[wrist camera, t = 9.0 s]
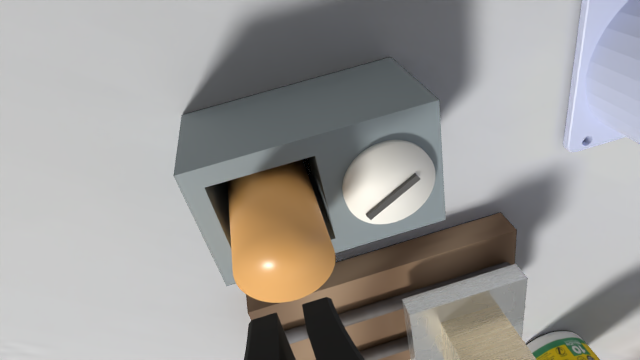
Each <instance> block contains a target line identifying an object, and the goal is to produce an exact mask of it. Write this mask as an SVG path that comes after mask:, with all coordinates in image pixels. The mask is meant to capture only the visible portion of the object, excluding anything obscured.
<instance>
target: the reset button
mask: <svg viewBox="0 0 640 360" xmlns="http://www.w3.org/2000/svg"><path fill="white" fill-rule="evenodd" d="M227 183H228V200H229V217H230V235H231V252H232V269H233V277H234V280H235V282H236V284H237V285H238V287H239V288H240V289H241V290H242V291H243V292H244V293H245V294H247V295H248V296H250V297H252V298H254V299H257V300H260V301H264V302H271V303H282V302H290V301H294V300H298V299H300V298H303V297H305V296H307V295H309V294H311V293H313V292H315V291H316V290H317V289H319V288H320V287H321V286H322V285H323V284H324V283H325V282H326V281H327V280H328V278H329V277H330V275H331V273H332V271H333V269H334V266H335V251H334V248H333V245H332V242H331V239H330V236H329V234H328V231H327V228H326V225H325V222H324V219H323V216H322V214H321V211H320V208H319V205H318V202H317V199H316V196H315V194H314V191H313V188H312V185H311V182H310V179H309V176H308V174H307V171H306V168H305V165H304V162H303V160H298V161H295V162H292V163H288V164H285V165H281V166H278V167H274V168H271V169H267V170H264V171H260V172H257V173H254V174H250V175H247V176H243V177H240V178H236V179H233V180H229V181H227Z"/></svg>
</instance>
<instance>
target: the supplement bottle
mask: <svg viewBox="0 0 640 360" xmlns="http://www.w3.org/2000/svg"><path fill="white" fill-rule="evenodd" d="M527 347H528V348H529V350H530V351H531V353H532V354H533V355H534V357H535V358H536V360H600V359H599V358H598V357H597V356H596V354H595V353H594V352H593V351H592V350H591V349H590V347H589V346H588V345H587V344H586V343H585V342H584V341H583V339H582V338H581V337H580V336H578V335H577V334H575V333H573V332H569V331H557V332H551V333H548V334H545V335H543V336H540V337H538V338H537V339H535V340H533V341H532V342H530V343H529V344H528V345H527Z"/></svg>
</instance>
